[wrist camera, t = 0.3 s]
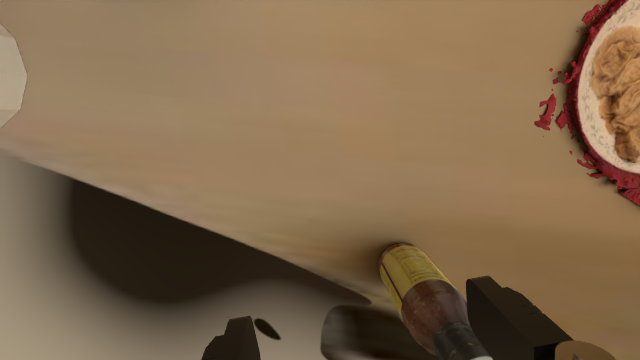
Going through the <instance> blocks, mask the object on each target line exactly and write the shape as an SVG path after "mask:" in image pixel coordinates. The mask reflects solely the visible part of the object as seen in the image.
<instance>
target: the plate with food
mask: <svg viewBox="0 0 640 360" xmlns="http://www.w3.org/2000/svg"><path fill="white" fill-rule="evenodd" d="M606 6H607V7H608V9H609V11H608V9H606V10H605V8H607V7H606ZM611 6H612V8H611ZM599 7H600V5H599V4H598V5H596V6H595V7H594V8H593V10H591V11H590V12H588V13H587V14H586V16H585V17H584V18H583V20H582V21H583V22H585V23H586V25H587V24H588V23H589V22H590V23H591V26H590V29H589V30H588V31H589V36H588V38H587V41H586V43H585V46H584V48H583V49H582V51H581V53H580V55H579V57H578V62H577V64H576V65H575V61H572V62H571V66H572V67H573V70H572V74H571V77H570V78H569V77H568V73H567V72H566V73H564V77H566V78H567V79H566V80H564V81H563V82H562V83H563V84H567V83H569V89H568V90H567V93H570V94H569V97H568V99H567V100H566V101H567V102H569V104H570V106H571V108H570V109H571V111H568V109H567V107H568V106H567V103H566V104H564V109H565V110H564V113H563V111H561V115H560V117H559V118H558V120H557V125H558V126H559V127H560V128H561V129H562V128H564V127H565V124H567V123H568V125H569V126H568V128H569V129H570V134H571V133H572V130H573V126H574V125H575V128H576V131H578V132H579V133H580V134H581V136H582V138H583V140H584V143H585V144H586V146H587V148H588V152H584V156H583V158H584V159H585V160H586V161H587V162H586V163H585V164H583V163H582V161H581V160H579V159H577V162H578V164H580V165H582V166H584V167H587V168H589V169H596V170H600V171H602V173H601V174H588V173H587V174H588V175H590V176H592V177H595V178H599V177H600V176H602V175H607V176H608V178H609V179H610V180H613V179H616V180H617V181H615V182H616V183H615V185H616V186H617V189H621V188H622V187H624V188H628V189H626V190H625V191H622V192H620V194H622V195H624V196H625V197H627V198H628V199H630V200H631V201H633V202H635V203H636V204H638V205H640V0H610V1H609V2H608V4H605V5H602V7H603V8H602V9H601V11H602V12H603V14H602V15H604V16H602V15H601V14H600V13H601V11H600V10H599ZM600 8H601V7H600ZM603 9H604V11H603ZM599 11H600V12H599ZM598 12H599V14H598V17H600V18H599V19H598V17H597V16H596V15H597V13H598ZM593 13H594V14H593ZM594 15H595V20H596V19H597V20H598V22H596V21H595V20H594V21H593V22H592V21H591V20H592V19H593V16H594ZM590 19H591V20H590ZM594 23H596V25H595V26H594V27H593V24H594ZM586 29H588V28H586ZM577 32H578V31H577ZM586 32H587V31H585V32H584V33H583V36H584V34H586ZM552 70H553V69H552V68H550V69H549V71H551V72H552ZM560 73H561V71H559V72H558V74H560ZM557 79H558V77H557V78H556V79H555V80H553V84H556V83H558V80H557ZM552 91H553V89H552ZM544 104H548V110H547V112H546V114H545V115H543V116H541V115H539V117H540V118H541V119H540V120H539V121H535V122H534V124H535V125H536V126H537V127H541V128H543V129H545V130H549V131H550V128H549V127H547V125H548V126H549V125H550V123H551V120H552V119H553V118H552V119H551V118H550V116H551V114H552V113H553V112H554V111H555V110H554V109H555V106H556V98H555V97H554V94H552V95H551V96H550V98H549V99H548V100H547V101H543V102H540V107H541V106H543V105H544ZM569 112H571V115H572V116H573V117H572V118H573V122H574V125H573V124H572V121H571V116H570V114H569ZM552 116H554V114H552ZM557 116H558V115H557ZM556 118H557V117H556ZM555 122H556V121H555ZM561 129H560V130H561ZM572 135H573V133H572ZM575 136H576V135H575ZM543 137H544V136H543ZM573 138H574V135H573V137H572V138H571V139H573ZM578 142H579V140H578ZM580 148H581V147H580ZM570 154H571V155H572V151H570ZM588 160H591V161H592V162H593V163H594V164H595V165H596V166H592V165H590V164H589V163H588ZM630 188H632V189H630Z"/></svg>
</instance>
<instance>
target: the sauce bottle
mask: <svg viewBox="0 0 640 360" xmlns="http://www.w3.org/2000/svg"><path fill="white" fill-rule="evenodd" d="M379 270H380V275H381V279H382V281H383V283H384V285H385V287H386V289H387V291H388V293H389V294H390V296H391V298H392V300H393V302H394V304H395V306H396V308H397V310H398V312H399V314H400V316H401V318H402V320H403V322H404V323H405V325H406V326H407V327H408V329H409V331H410V333H411V336H412V337H413V338H414V340H415V341H416V342H418V343H419V344H420V345H422V346H423V348H425V349H426V350H427V351H428V352H429V353H430V354H433V355H435V356H437V357H438V359H440V360H493V359H492V358H491V356H490V355H489V354H488V352H487V351H486V349H485V348H484V347H483V345H482V344H481V343H480V341H479V340H478V339H477V337H476V336H475V335H474V333H473V331H472V329H471V327H470V324H469V321H468V315H467V303H466V301H465V299H464V298H463V296H462V295H461V294H460V293H459V291H458V290H457V289H456V288H455V287H454V286H453V285H452V284H451V283H450V282H449V280H448V279H447V278H446V277H445V276H444V275H443V274H442V273H441V272H440V270H439V269H438V268H437V267H436V266H435V265H434V264H433V263H432V261H431V260H430V259H429V258H428V257H427V256H426V255H425V254H424V253H423V252H422V251H421V250H420V249H418V248H416V247H415V246H413V245H412V244H407V243H400V244H395V245H391V246H390V247H389V248H388V249H386V250H385V252H384V253H383V254H382V256H381V257H380V259H379Z"/></svg>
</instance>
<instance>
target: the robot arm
mask: <svg viewBox="0 0 640 360" xmlns="http://www.w3.org/2000/svg"><path fill="white" fill-rule="evenodd" d="M466 296H467V315H468V321H469V324H470V327H471V329H472V331H473V333H474V335H475V336H476V337H477V339H478V340H479V341H480V343H481V344H482V345H483V347H484V348H485V349H486V351H487V352H488V354H489V355H490V356H491V358H492V359H493V360H616V359H615V358H614V357H613V356H612V355H611V354H610V353H608V352H607V351H605V350H604V349H602V348H600V347H598V346H596V345H593V344H590V343H586V342H582V341H574V340H573V339H572V338H571V337H570V336H569V335H567V334H566V333H565V332H564V331H563V330H562V329H561V328H560V327H558V326H557V325H556V324H555V323H554V322H553V321H552V320H551V319H549V318H548V317H547V316H546V315H545V314H542V312H541V311H540V310H539V309H538V308H537V307H536V306H533V303H531V302H530V301H529V300H528V299H527V298H526V297H525V296H523V295H522V294H521V293H518V292H516V291H514V290H512V289H510V288H508V287H505V288H502V287H501V286H500V285H498V284H497V283H496V282H495V281H494V280H493V279H492V278H491V277H490V276H484V277H478V278H472V279H468V280H467V281H466ZM202 360H260V352H259V347H258V343H257V339H256V334H255V330H254V326H253V321H252V318H251V317H250V316H246V317H240V318H234V319H230V320H229V322H228V324H227V327H226V330H225V334H224V335H221V336H216V337H215V338H214V339H213V340H212V341H211V342H210V344H209V345H208V346H207V347H206V349H205V351H204V354H203V357H202Z"/></svg>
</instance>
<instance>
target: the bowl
mask: <svg viewBox="0 0 640 360" xmlns="http://www.w3.org/2000/svg"><path fill="white" fill-rule="evenodd" d="M26 80H27V73H26V70H25V67H24V64H23V61H22V58H21V55H20V52H19V49H18V46H17V44H16V41H15V38H14V37H13V36H12V35H11V34H10V33H9V32H8V31H7V30H6V29H5V28H4V27H3V26H2V25H1V24H0V128H1V127H2V126H3V125H4V124H5V123H6V122H7V121H8V120H9V119H10V118H12V117H13V116H14V115H15V114H16V113H17V112H18V111H19V110H20V109H21V105H22V100H23V95H24V90H25V85H26Z"/></svg>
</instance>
